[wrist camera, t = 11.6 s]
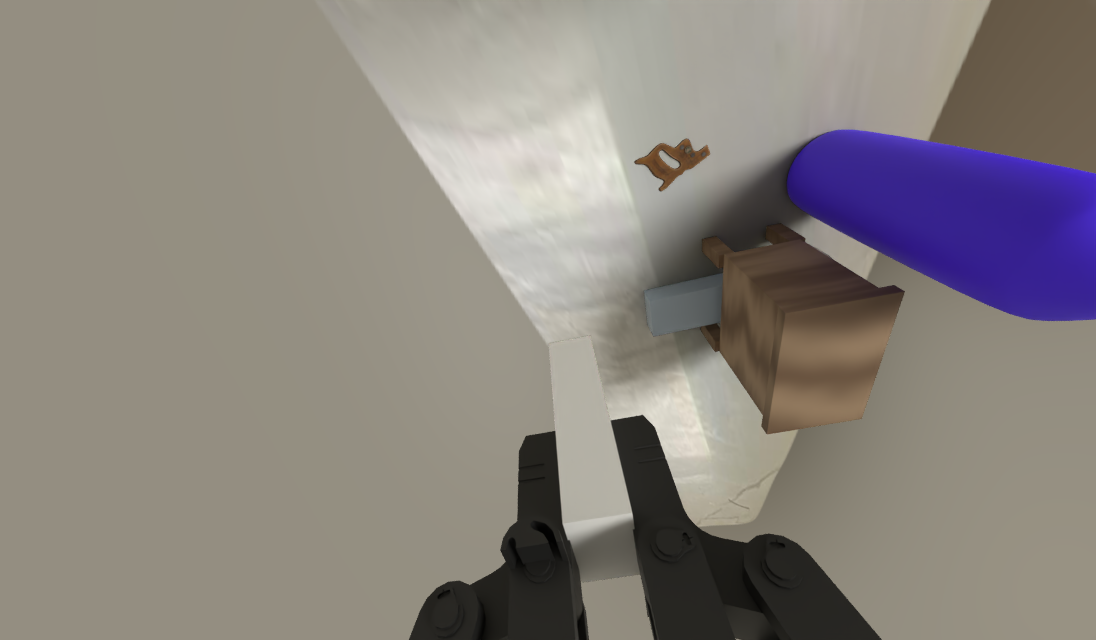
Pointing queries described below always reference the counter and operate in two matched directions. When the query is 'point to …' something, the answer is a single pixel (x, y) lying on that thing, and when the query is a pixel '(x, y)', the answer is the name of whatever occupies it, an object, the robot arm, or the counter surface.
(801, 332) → the cabinet
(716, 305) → the batten
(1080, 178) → the bottle
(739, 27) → the counter surface
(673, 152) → the saw handle
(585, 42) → the counter surface
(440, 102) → the counter surface
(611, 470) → the robot arm
